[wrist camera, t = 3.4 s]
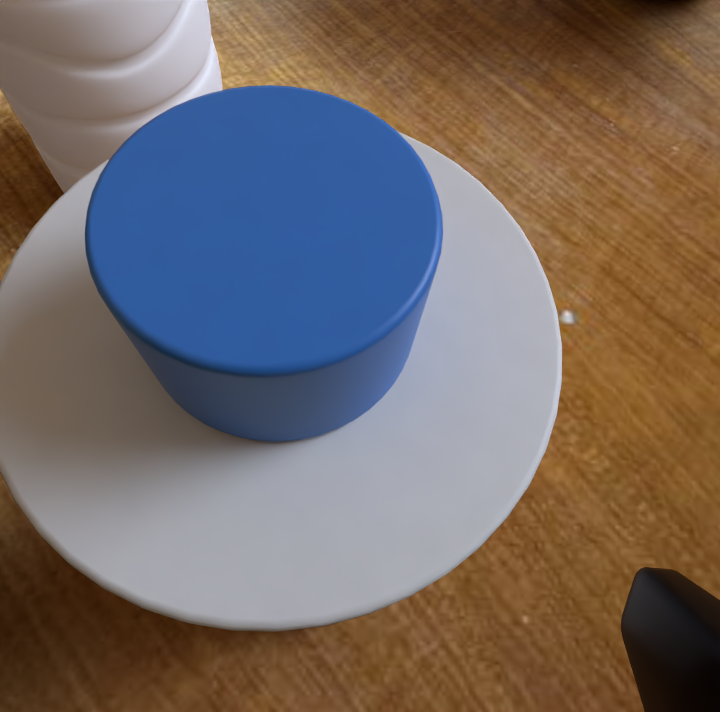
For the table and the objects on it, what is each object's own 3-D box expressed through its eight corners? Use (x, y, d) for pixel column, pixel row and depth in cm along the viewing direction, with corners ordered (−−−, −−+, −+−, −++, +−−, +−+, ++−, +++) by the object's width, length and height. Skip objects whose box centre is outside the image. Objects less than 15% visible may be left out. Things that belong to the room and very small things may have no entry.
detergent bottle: (426, 601, 16) (796, 537, 3) (218, 641, 15) (-265, 744, 3) (386, 409, 18) (523, -48, 6) (204, 436, 17) (-95, -17, 5)
